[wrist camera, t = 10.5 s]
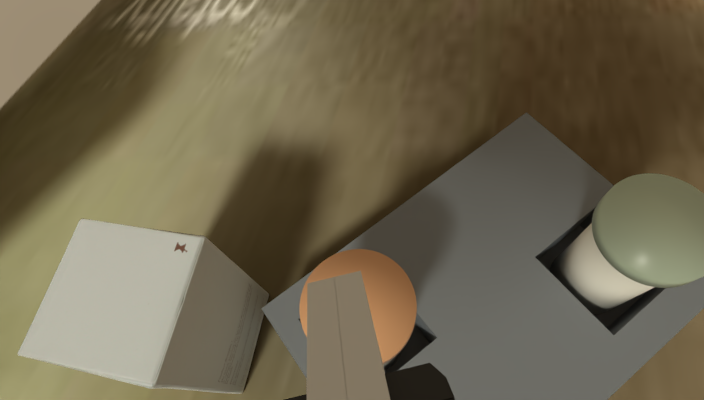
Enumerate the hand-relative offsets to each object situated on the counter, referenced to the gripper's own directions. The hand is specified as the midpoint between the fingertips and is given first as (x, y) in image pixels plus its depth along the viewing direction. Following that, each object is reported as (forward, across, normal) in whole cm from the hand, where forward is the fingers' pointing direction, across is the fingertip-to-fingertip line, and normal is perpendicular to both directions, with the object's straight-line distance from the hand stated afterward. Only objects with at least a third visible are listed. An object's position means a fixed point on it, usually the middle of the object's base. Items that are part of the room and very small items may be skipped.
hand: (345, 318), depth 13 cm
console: (+16, +8, -13) cm, 22 cm away
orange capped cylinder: (+15, 0, -12) cm, 19 cm away
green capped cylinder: (+15, +15, -12) cm, 25 cm away
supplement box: (+18, -11, -11) cm, 24 cm away
